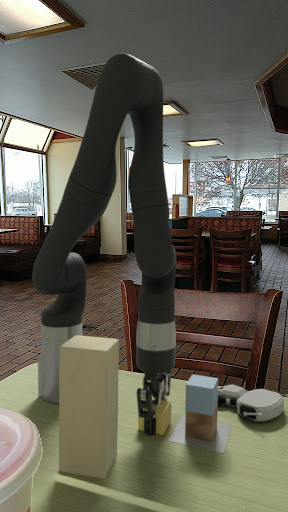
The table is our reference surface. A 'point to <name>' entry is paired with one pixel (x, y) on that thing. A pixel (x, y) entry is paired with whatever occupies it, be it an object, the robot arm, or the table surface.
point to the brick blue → (201, 394)
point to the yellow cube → (159, 417)
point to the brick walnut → (201, 425)
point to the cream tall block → (88, 405)
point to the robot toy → (252, 402)
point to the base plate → (215, 445)
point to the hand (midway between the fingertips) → (154, 427)
